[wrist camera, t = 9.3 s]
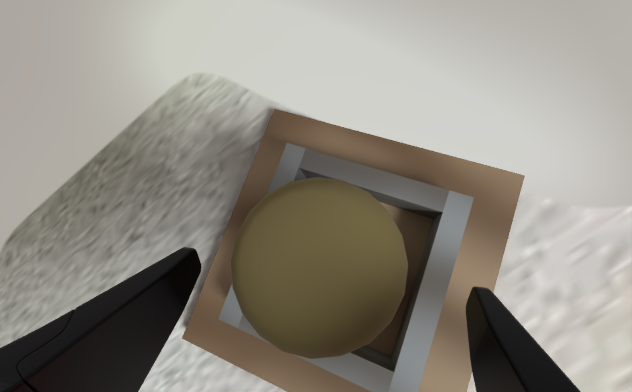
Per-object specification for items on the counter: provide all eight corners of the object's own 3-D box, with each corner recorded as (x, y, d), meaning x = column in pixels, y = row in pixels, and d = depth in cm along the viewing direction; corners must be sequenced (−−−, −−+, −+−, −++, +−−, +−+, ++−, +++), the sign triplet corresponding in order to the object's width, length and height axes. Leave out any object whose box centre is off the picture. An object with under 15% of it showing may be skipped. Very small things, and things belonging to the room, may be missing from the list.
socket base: (440, 458, 16) (458, 510, 13) (191, 334, 20) (154, 349, 17) (516, 180, 18) (549, 161, 15) (278, 115, 22) (262, 89, 19)
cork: (419, 275, 17) (493, 298, 7) (332, 337, 17) (271, 454, 7) (355, 192, 19) (334, 105, 8) (277, 249, 19) (158, 234, 8)
